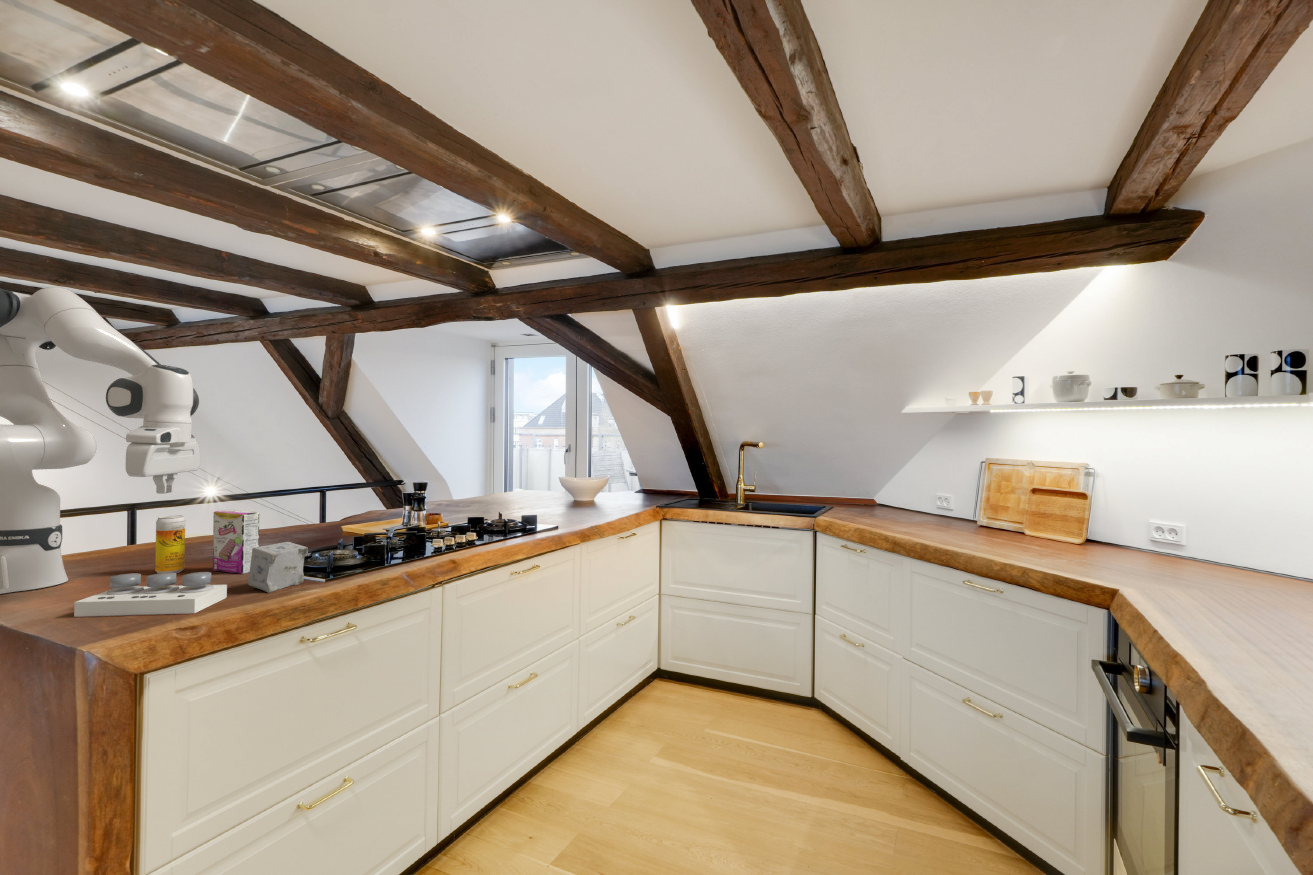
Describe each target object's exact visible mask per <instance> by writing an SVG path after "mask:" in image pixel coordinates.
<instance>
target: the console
mask: <svg viewBox="0 0 1313 875" xmlns="http://www.w3.org/2000/svg"><path fill="white" fill-rule="evenodd" d="M227 590H228V584H210V583H209V584H206V585H201V586H189V587H188V586H183V585H176V584H173V585H169V586H164V587H147V585H146V586H145V585H144V586H141V585H137V586H132V587H126V588H111V589H108V590H105V591H103V592H101V593H97V594H94V595H91V596H88V597H86V598H83V599H80V600H76V601H74V605H73V606H74V607H73V608H74V611H73V613H74V614H73V615H74V618H75V617H77V618H79V617H106V616H107V617H112V616H113V617H114V616H115V617H117V616H142V615H143V616H145V615H146V616H151V615H174V614H175V615H180V614H181V615H183V614H185V615H186V614H196V613H198V612H199V611H202V610H204V609H206V608H208V607H210V606H212V605H215V604H217V603H218V602H220V601H223V600H225V599H227V597H228V596H227V595H228V593H227V592H228V591H227Z"/></svg>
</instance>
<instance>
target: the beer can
mask: <svg viewBox="0 0 1313 875" xmlns="http://www.w3.org/2000/svg"><path fill="white" fill-rule="evenodd" d="M185 552H186V519H185V517H184V515H183V514H182V515H179V514H178V515H177V514H175V515H163V516H157V519H156V521H155V558H154V559H155V562H154V563H155V565H154V566H155V568H154V570H155V572H156V573H157V574H159V573H176V574H178V573H181V572H183V570H184V569H185V567H186V566H185V565H186V564H185V563H186V562H185V560H186V558H185V557H186V553H185Z"/></svg>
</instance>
